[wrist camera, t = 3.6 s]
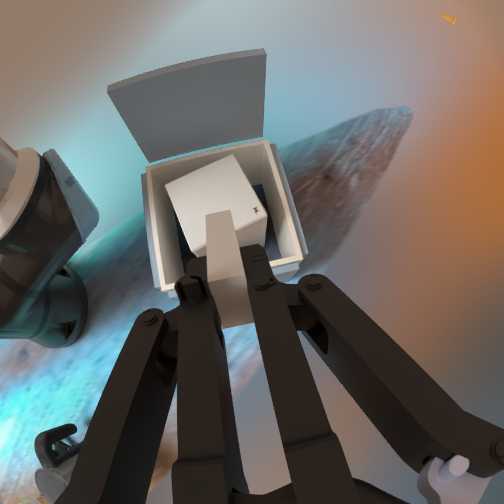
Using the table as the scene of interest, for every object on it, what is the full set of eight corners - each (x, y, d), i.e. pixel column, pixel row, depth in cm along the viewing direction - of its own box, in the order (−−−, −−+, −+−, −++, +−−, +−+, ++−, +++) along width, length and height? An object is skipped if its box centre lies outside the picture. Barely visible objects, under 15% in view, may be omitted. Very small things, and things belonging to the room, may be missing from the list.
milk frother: (131, 470, 36) (95, 510, 22) (87, 495, 34) (51, 528, 20) (78, 409, 39) (27, 430, 24) (41, 441, 36) (-4, 461, 22)
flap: (262, 136, 36) (266, 54, 22) (149, 162, 35) (107, 92, 21) (260, 130, 36) (263, 48, 22) (148, 156, 35) (107, 85, 22)
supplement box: (240, 200, 47) (235, 150, 32) (265, 249, 45) (271, 215, 30) (188, 224, 46) (162, 183, 31) (211, 275, 44) (191, 252, 30)
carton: (297, 279, 44) (312, 265, 32) (180, 305, 43) (155, 300, 31) (269, 179, 48) (274, 137, 36) (164, 203, 47) (139, 168, 35)
